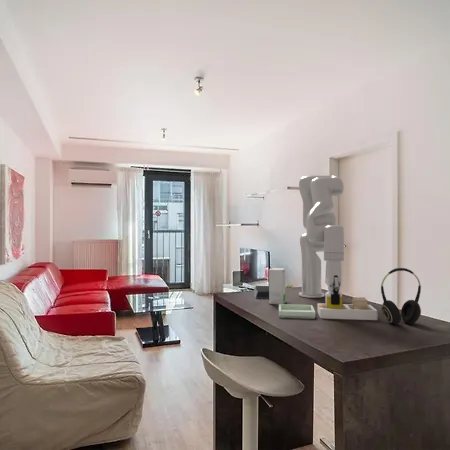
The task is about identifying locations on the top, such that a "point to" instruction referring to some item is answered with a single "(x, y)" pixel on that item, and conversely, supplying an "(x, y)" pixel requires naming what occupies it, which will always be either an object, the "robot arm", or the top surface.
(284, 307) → the tray
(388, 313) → the headphones
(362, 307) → the birch block
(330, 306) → the pill bottle
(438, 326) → the top surface
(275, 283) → the skincare box
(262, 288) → the external hard drive
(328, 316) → the holder
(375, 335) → the top surface
